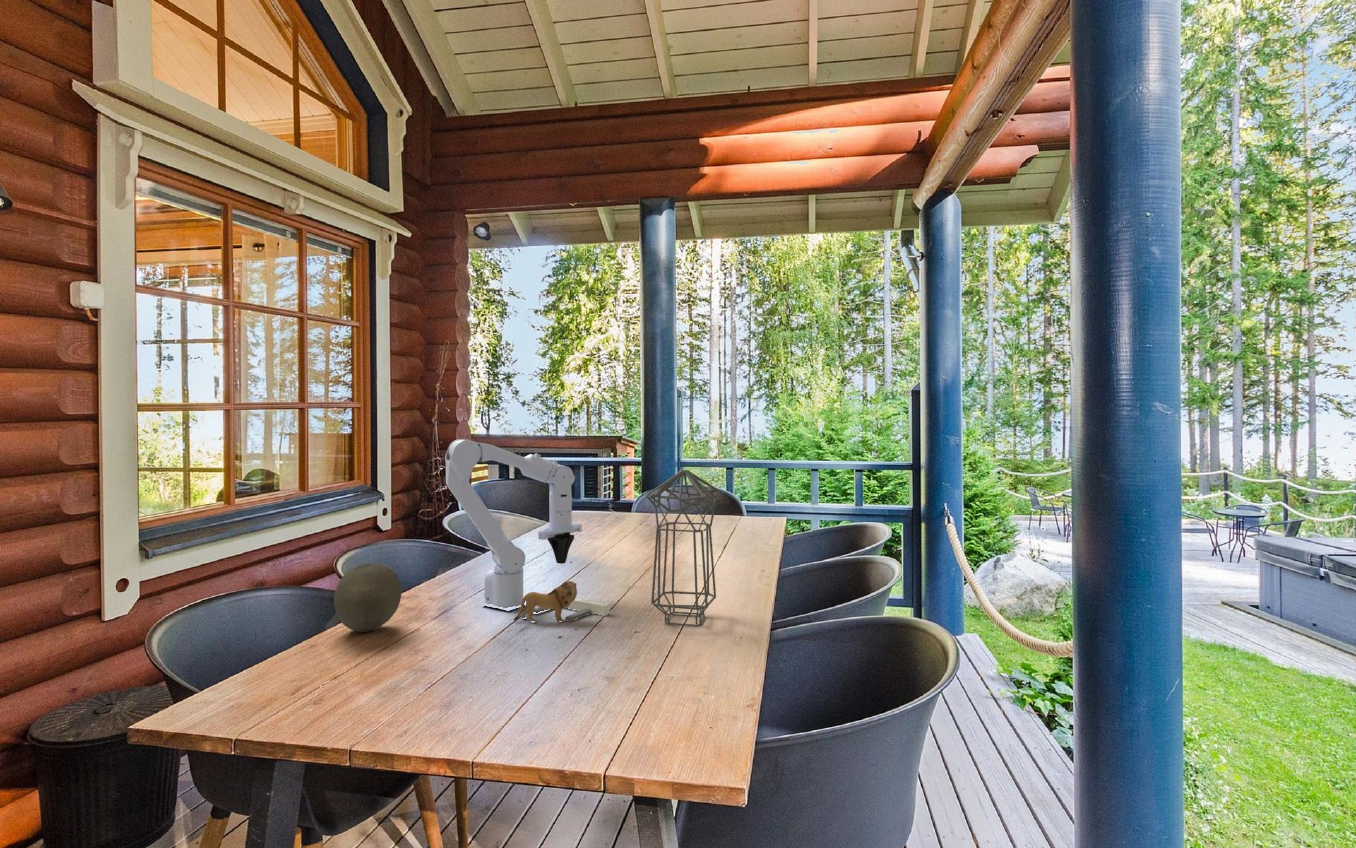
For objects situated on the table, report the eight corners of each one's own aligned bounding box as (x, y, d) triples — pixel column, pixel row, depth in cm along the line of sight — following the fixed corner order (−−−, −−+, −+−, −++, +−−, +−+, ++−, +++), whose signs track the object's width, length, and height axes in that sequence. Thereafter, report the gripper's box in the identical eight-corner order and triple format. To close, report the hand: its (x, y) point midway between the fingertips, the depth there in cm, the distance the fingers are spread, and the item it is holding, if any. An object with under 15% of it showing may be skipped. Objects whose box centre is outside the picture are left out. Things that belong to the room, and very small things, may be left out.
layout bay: (520, 611, 162) (520, 601, 162) (547, 602, 170) (547, 592, 170) (584, 624, 152) (583, 613, 152) (609, 614, 160) (609, 603, 160)
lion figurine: (576, 615, 159) (576, 577, 159) (578, 622, 154) (577, 583, 154) (513, 619, 156) (513, 581, 156) (512, 626, 151) (512, 587, 151)
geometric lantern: (643, 628, 149) (642, 472, 149) (661, 608, 165) (660, 467, 164) (712, 632, 146) (711, 473, 145) (724, 612, 161) (723, 467, 161)
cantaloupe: (318, 638, 143) (317, 569, 143) (366, 619, 157) (366, 556, 157) (371, 644, 139) (371, 573, 139) (417, 624, 152) (416, 559, 152)
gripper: (552, 515, 165) (553, 570, 165) (590, 508, 177) (591, 559, 177) (532, 513, 169) (532, 567, 169) (570, 506, 181) (570, 556, 181)
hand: (561, 563), depth 173 cm, fingers closed
